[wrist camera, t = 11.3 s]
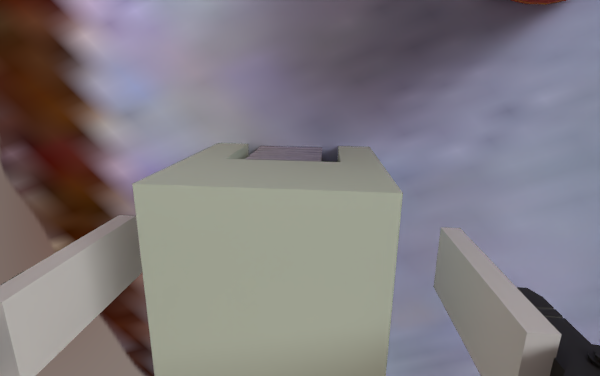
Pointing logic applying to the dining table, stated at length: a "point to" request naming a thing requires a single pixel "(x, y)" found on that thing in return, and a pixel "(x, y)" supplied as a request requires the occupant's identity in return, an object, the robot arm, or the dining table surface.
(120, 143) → the dining table surface
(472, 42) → the dining table surface
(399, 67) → the dining table surface
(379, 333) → the beige hollow box
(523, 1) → the canned food
